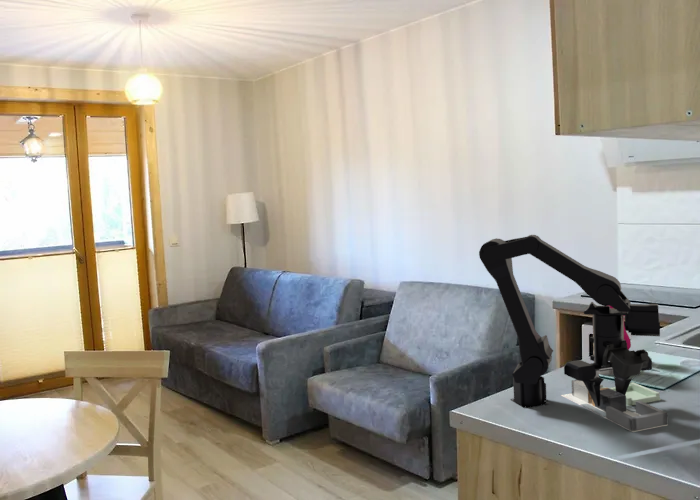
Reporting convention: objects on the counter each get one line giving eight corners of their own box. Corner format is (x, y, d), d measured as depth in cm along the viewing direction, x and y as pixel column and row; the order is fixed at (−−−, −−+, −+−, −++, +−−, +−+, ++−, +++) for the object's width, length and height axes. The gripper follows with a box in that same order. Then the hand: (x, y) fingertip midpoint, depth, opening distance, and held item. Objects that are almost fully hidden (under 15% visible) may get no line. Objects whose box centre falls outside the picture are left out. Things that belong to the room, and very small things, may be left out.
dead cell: (588, 403, 142) (587, 388, 142) (571, 395, 148) (571, 380, 148) (603, 400, 143) (602, 385, 143) (586, 392, 149) (586, 378, 149)
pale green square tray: (627, 408, 139) (627, 399, 139) (601, 395, 148) (601, 387, 148) (661, 402, 142) (661, 393, 141) (633, 390, 150) (633, 381, 150)
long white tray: (632, 434, 125) (632, 419, 125) (560, 397, 148) (560, 384, 148) (668, 427, 128) (668, 412, 127) (592, 392, 151) (591, 379, 150)
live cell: (610, 414, 135) (610, 398, 135) (592, 405, 141) (592, 390, 140) (626, 411, 136) (625, 395, 136) (607, 402, 142) (607, 387, 142)
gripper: (594, 348, 127) (596, 423, 128) (671, 336, 132) (671, 409, 133) (561, 336, 137) (563, 405, 139) (633, 326, 142) (634, 393, 144)
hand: (608, 403), depth 138 cm, fingers open, 6 cm apart
